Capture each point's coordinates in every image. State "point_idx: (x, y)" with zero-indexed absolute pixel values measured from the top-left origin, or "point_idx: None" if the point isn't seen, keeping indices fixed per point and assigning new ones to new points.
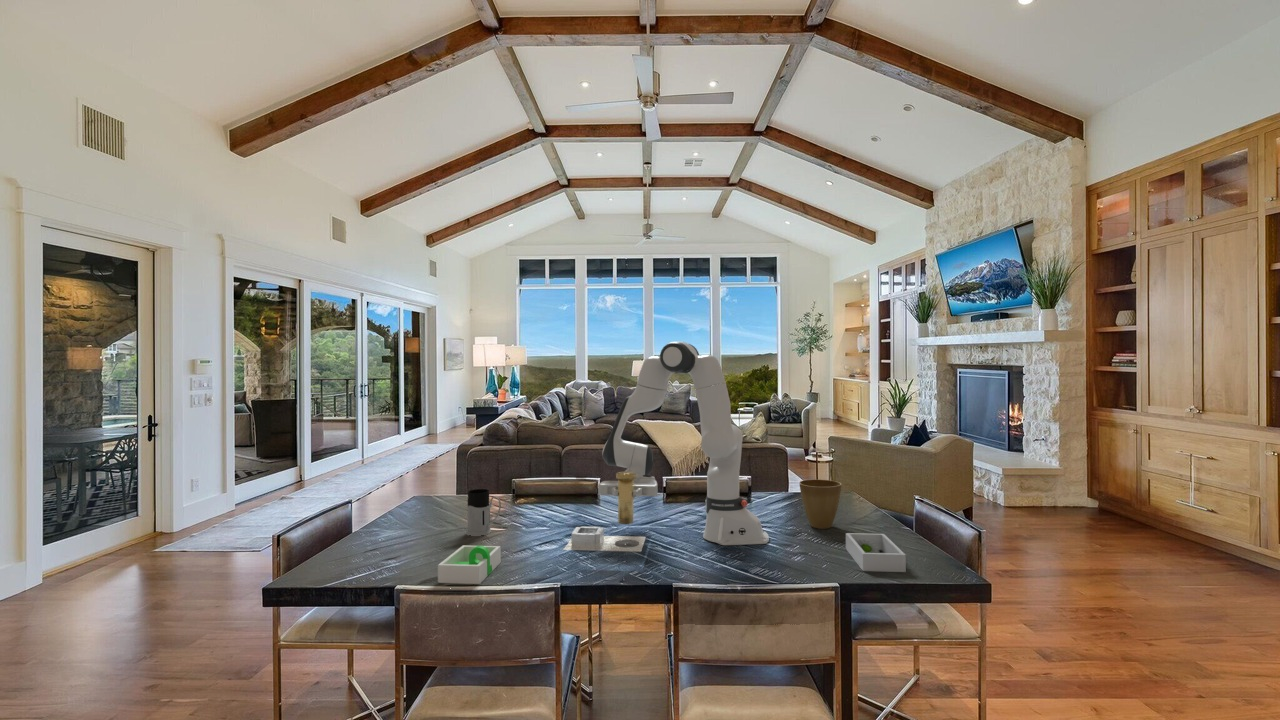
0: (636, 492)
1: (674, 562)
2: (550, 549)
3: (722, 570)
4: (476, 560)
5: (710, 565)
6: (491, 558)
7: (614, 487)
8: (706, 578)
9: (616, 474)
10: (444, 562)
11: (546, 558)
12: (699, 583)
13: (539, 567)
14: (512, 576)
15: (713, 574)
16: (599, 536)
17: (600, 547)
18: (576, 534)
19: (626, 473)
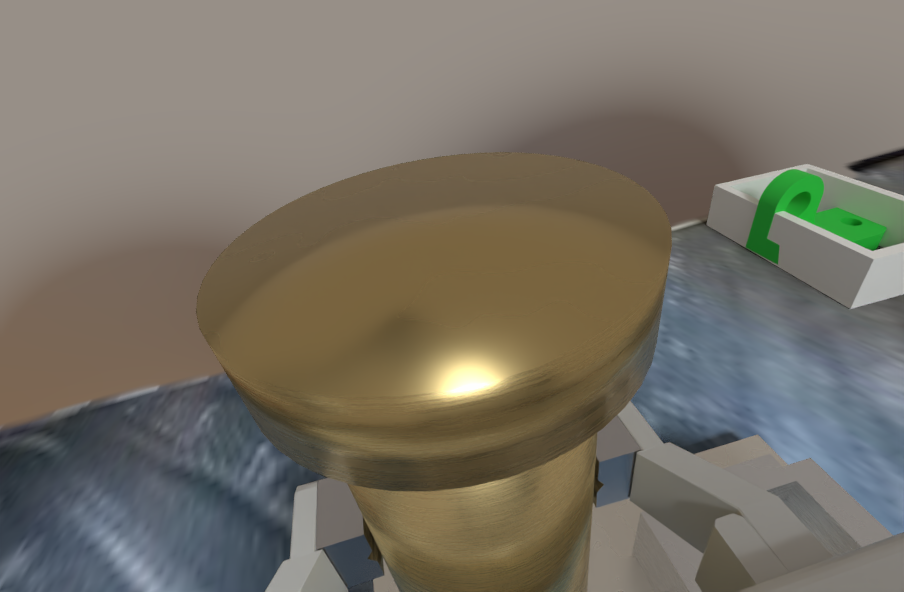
0: (313, 483)
1: (209, 538)
2: (897, 491)
3: (24, 516)
4: (794, 209)
5: (46, 559)
6: (784, 229)
7: (782, 557)
8: (127, 426)
9: (580, 170)
10: (817, 171)
11: (761, 388)
12: (164, 387)
13: (688, 323)
14: (687, 265)
15: (85, 465)
16: (641, 518)
17: (617, 535)
18: (766, 455)
19: (414, 228)
